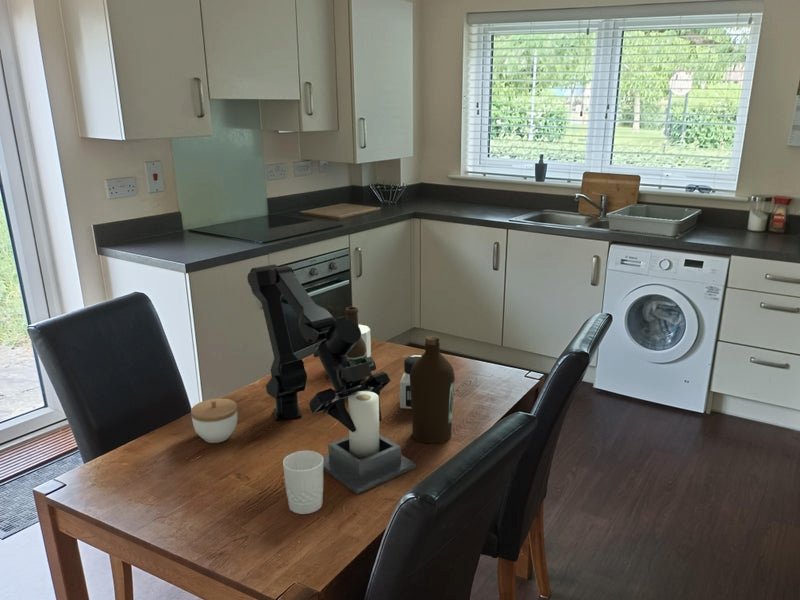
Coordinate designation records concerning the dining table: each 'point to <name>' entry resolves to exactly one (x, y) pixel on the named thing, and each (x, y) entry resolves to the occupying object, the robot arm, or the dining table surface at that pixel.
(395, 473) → the square open box
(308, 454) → the white cup
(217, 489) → the dining table surface
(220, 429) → the lidded jar
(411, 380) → the olive oil
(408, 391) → the container
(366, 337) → the toilet paper
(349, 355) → the beer bottle
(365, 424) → the white paper towel roll
